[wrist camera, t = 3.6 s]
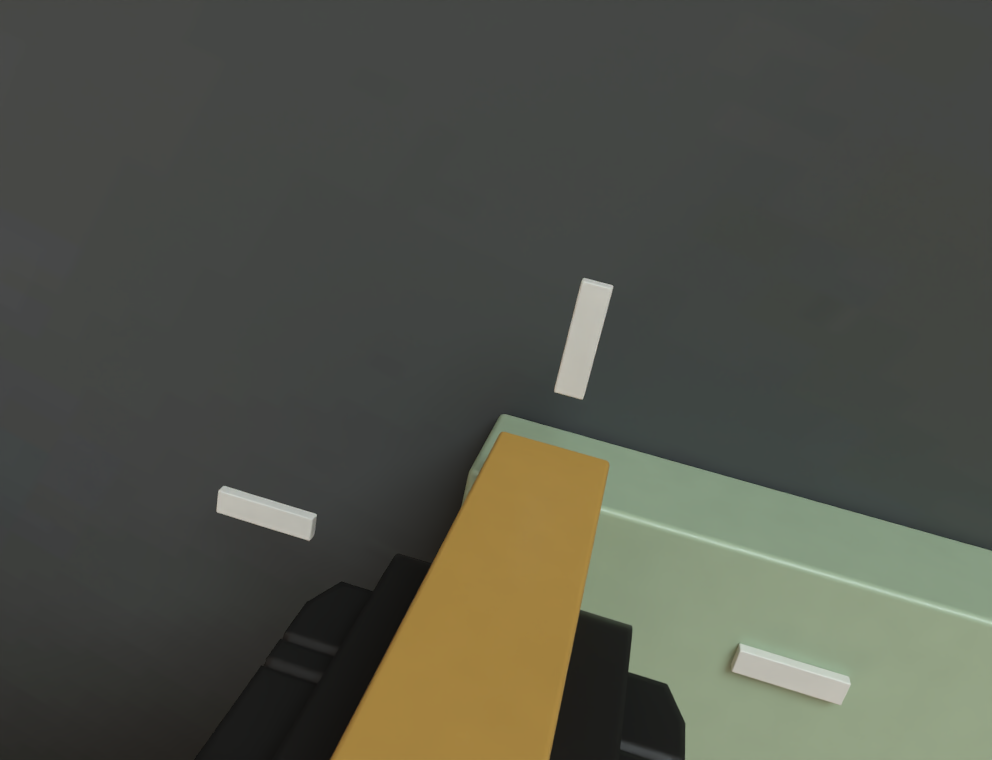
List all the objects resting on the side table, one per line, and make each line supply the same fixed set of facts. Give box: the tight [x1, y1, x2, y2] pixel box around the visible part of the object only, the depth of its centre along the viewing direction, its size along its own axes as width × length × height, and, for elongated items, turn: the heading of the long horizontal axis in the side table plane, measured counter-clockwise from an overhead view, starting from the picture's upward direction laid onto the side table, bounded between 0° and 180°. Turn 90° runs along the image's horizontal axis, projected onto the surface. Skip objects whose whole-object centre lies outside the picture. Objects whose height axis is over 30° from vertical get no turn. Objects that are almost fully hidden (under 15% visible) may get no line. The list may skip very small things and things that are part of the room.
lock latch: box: [330, 432, 610, 760], centre depth 9 cm, size 4×1×6 cm, turn 168°
